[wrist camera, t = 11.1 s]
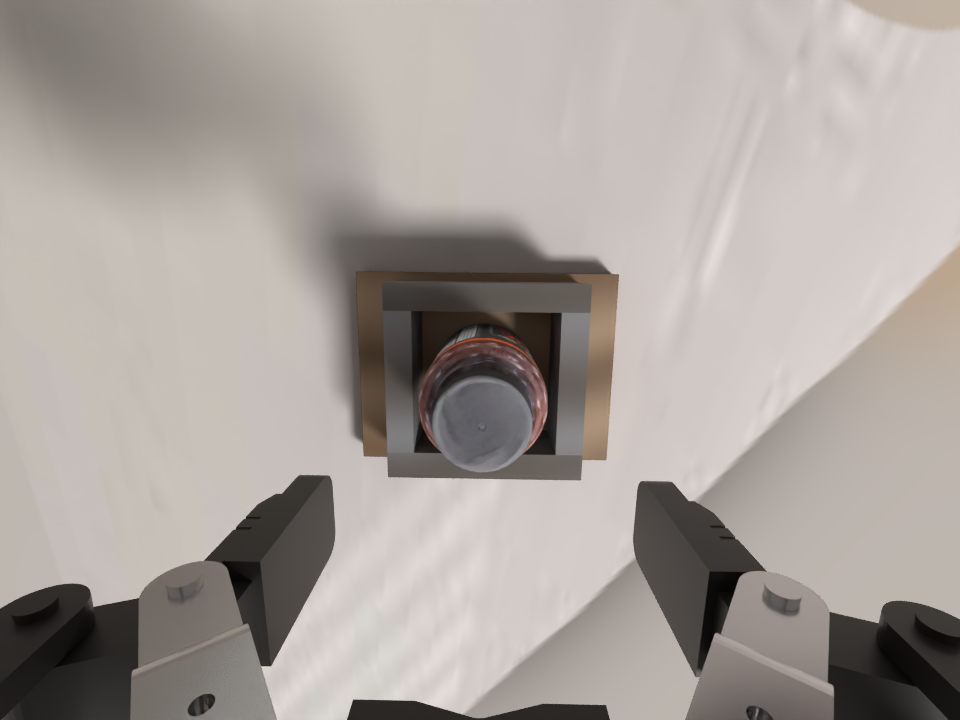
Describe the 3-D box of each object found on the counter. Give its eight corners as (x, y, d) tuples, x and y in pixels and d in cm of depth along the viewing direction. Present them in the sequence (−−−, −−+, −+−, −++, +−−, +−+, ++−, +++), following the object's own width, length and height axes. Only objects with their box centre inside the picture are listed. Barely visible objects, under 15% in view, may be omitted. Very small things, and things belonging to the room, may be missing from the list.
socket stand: (362, 271, 29) (333, 271, 24) (612, 274, 29) (641, 274, 23) (369, 447, 31) (345, 484, 26) (600, 451, 31) (624, 489, 26)
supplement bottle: (551, 369, 28) (592, 431, 17) (482, 431, 29) (480, 528, 18) (486, 300, 28) (485, 319, 17) (417, 365, 28) (374, 425, 17)
